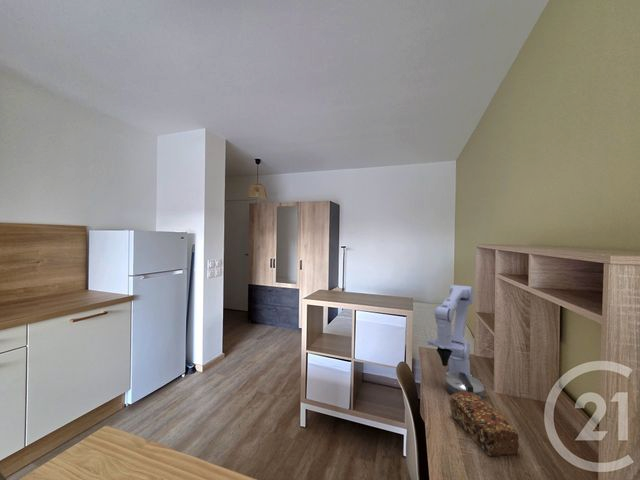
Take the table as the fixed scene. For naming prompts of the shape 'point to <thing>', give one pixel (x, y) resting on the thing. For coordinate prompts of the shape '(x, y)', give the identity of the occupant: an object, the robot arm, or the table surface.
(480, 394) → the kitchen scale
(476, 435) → the bread
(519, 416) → the table surface
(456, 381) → the lid
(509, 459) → the table surface
